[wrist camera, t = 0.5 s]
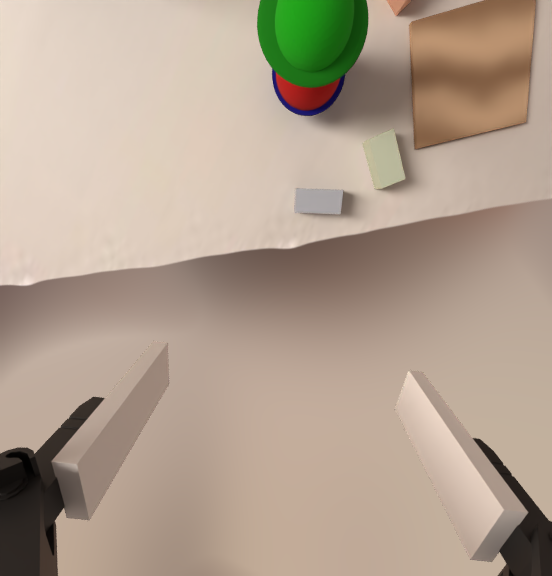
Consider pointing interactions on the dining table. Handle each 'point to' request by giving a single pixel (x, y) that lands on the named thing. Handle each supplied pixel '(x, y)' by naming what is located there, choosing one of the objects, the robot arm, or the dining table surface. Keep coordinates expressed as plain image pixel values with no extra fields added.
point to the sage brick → (384, 159)
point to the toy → (311, 48)
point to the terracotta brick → (398, 5)
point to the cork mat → (471, 69)
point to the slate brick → (318, 201)
